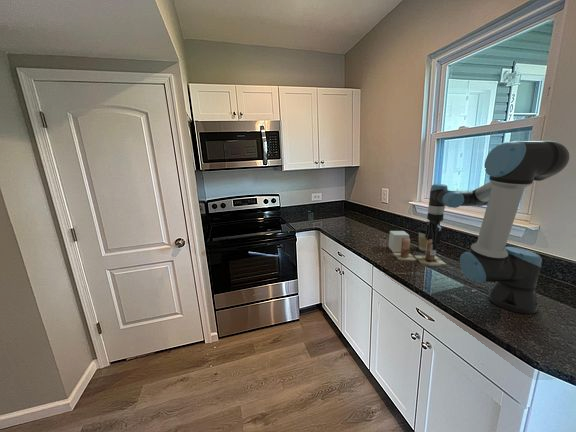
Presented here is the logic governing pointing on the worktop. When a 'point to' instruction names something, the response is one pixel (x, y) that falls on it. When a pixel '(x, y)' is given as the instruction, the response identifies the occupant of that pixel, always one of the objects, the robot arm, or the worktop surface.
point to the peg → (428, 256)
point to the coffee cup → (422, 238)
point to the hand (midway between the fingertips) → (430, 253)
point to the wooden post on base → (404, 251)
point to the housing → (396, 240)
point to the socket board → (437, 262)
